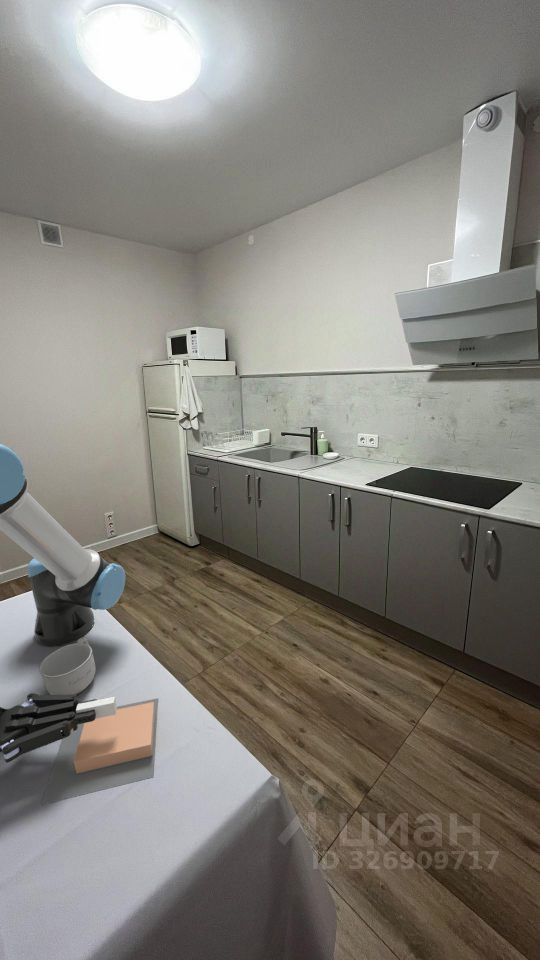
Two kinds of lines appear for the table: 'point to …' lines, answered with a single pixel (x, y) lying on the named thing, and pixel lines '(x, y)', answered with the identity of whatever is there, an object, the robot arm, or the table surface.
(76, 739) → the mat
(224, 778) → the table surface
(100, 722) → the tile
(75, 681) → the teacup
